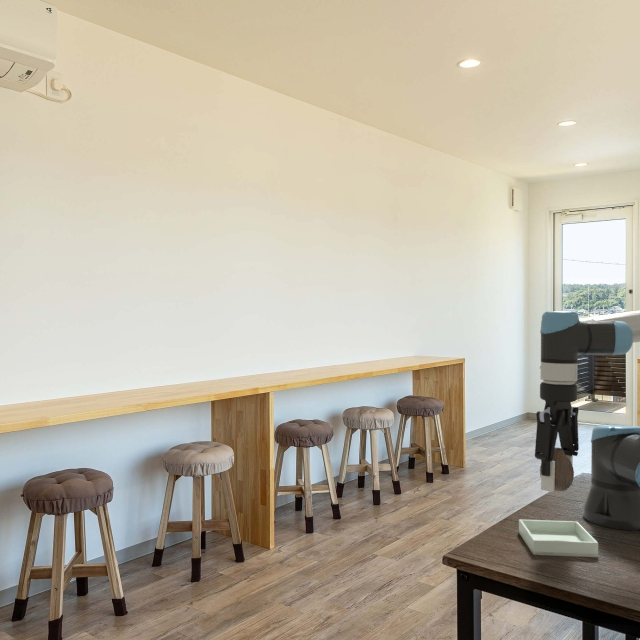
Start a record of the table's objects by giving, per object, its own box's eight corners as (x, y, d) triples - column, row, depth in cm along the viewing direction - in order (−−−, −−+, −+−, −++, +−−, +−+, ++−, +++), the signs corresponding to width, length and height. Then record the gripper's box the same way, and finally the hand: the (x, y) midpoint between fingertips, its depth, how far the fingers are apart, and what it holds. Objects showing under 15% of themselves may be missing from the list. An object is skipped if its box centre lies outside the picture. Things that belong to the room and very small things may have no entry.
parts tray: (577, 534, 140) (577, 521, 140) (597, 557, 127) (598, 542, 127) (518, 532, 141) (518, 519, 141) (533, 554, 128) (533, 540, 128)
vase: (580, 490, 133) (580, 449, 133) (561, 495, 129) (561, 453, 129) (552, 482, 139) (552, 443, 139) (533, 487, 135) (533, 447, 135)
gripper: (565, 377, 143) (563, 476, 143) (517, 383, 130) (516, 491, 131) (597, 380, 137) (595, 483, 138) (550, 387, 125) (548, 500, 125)
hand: (556, 487), depth 134 cm, fingers closed on vase, 7 cm apart
